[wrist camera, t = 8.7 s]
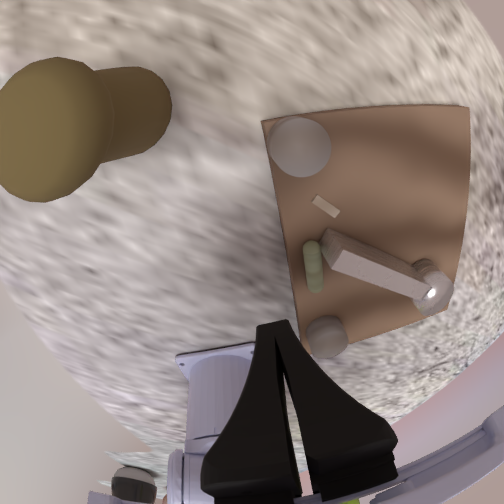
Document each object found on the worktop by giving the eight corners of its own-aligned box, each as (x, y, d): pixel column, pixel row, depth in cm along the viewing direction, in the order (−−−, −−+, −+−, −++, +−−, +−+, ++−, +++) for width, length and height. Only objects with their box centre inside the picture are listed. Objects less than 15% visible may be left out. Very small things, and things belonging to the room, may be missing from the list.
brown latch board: (440, 300, 26) (456, 321, 23) (299, 344, 27) (307, 372, 24) (456, 104, 16) (486, 110, 13) (258, 119, 17) (266, 124, 14)
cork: (171, 59, 14) (98, 13, 5) (174, 151, 17) (112, 222, 8) (83, 76, 14) (-39, 80, 4) (89, 161, 17) (-17, 235, 7)
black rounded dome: (163, 478, 49) (162, 532, 36) (123, 473, 49) (119, 525, 35) (150, 466, 44) (147, 528, 31) (106, 460, 43) (99, 518, 30)
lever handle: (441, 266, 22) (460, 285, 19) (419, 297, 23) (435, 319, 20) (335, 213, 18) (352, 233, 16) (310, 258, 20) (322, 283, 17)
